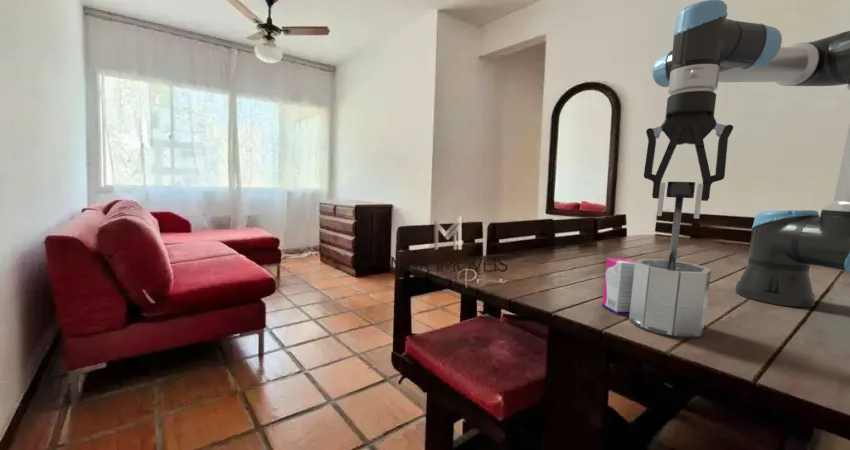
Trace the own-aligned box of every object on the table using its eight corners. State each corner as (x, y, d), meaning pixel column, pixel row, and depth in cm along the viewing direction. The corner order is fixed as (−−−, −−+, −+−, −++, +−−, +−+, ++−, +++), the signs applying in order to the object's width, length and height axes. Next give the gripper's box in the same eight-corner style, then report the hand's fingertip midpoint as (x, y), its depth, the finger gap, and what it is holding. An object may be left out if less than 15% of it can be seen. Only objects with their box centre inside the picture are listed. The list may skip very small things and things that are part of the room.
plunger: (675, 280, 78) (686, 182, 75) (702, 290, 70) (716, 182, 68) (639, 278, 78) (649, 181, 75) (662, 289, 70) (675, 181, 68)
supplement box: (641, 314, 81) (646, 263, 80) (616, 314, 80) (620, 263, 79) (625, 305, 87) (629, 257, 85) (601, 305, 86) (605, 257, 85)
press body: (666, 311, 84) (672, 257, 82) (719, 339, 69) (728, 274, 67) (611, 309, 84) (617, 255, 82) (653, 337, 69) (660, 272, 67)
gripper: (633, 94, 71) (622, 214, 74) (759, 83, 61) (740, 222, 64) (637, 102, 78) (626, 212, 80) (752, 92, 67) (735, 219, 70)
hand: (677, 216), depth 72 cm, fingers open, 5 cm apart
